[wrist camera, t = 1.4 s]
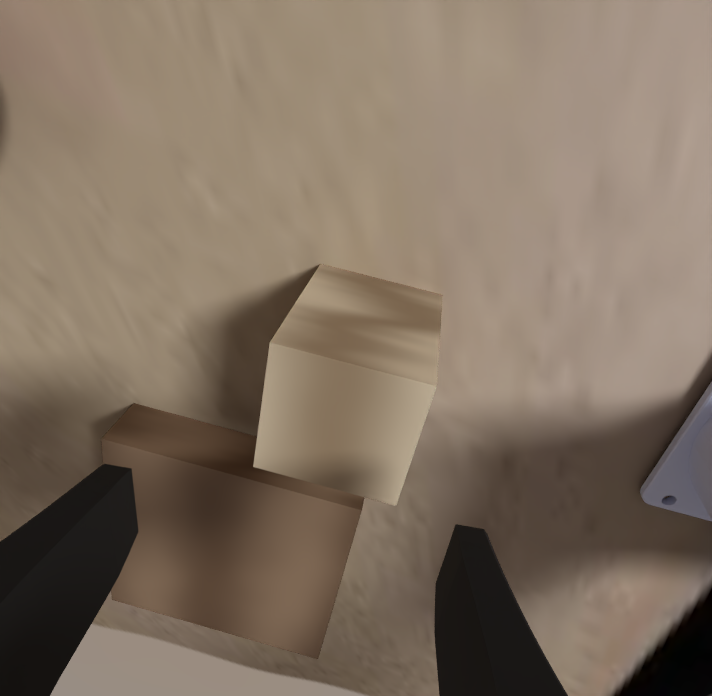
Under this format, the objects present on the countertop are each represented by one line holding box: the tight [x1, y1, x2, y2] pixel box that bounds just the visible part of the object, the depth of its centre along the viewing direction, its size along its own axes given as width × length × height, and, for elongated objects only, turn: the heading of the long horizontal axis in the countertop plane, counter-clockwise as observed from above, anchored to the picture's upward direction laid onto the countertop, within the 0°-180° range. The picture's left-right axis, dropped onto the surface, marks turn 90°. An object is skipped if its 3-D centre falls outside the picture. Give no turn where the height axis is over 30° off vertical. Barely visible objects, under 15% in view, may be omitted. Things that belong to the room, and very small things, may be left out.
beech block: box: [253, 264, 443, 506], centre depth 18 cm, size 4×4×6 cm
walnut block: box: [101, 403, 364, 659], centre depth 25 cm, size 11×11×3 cm
